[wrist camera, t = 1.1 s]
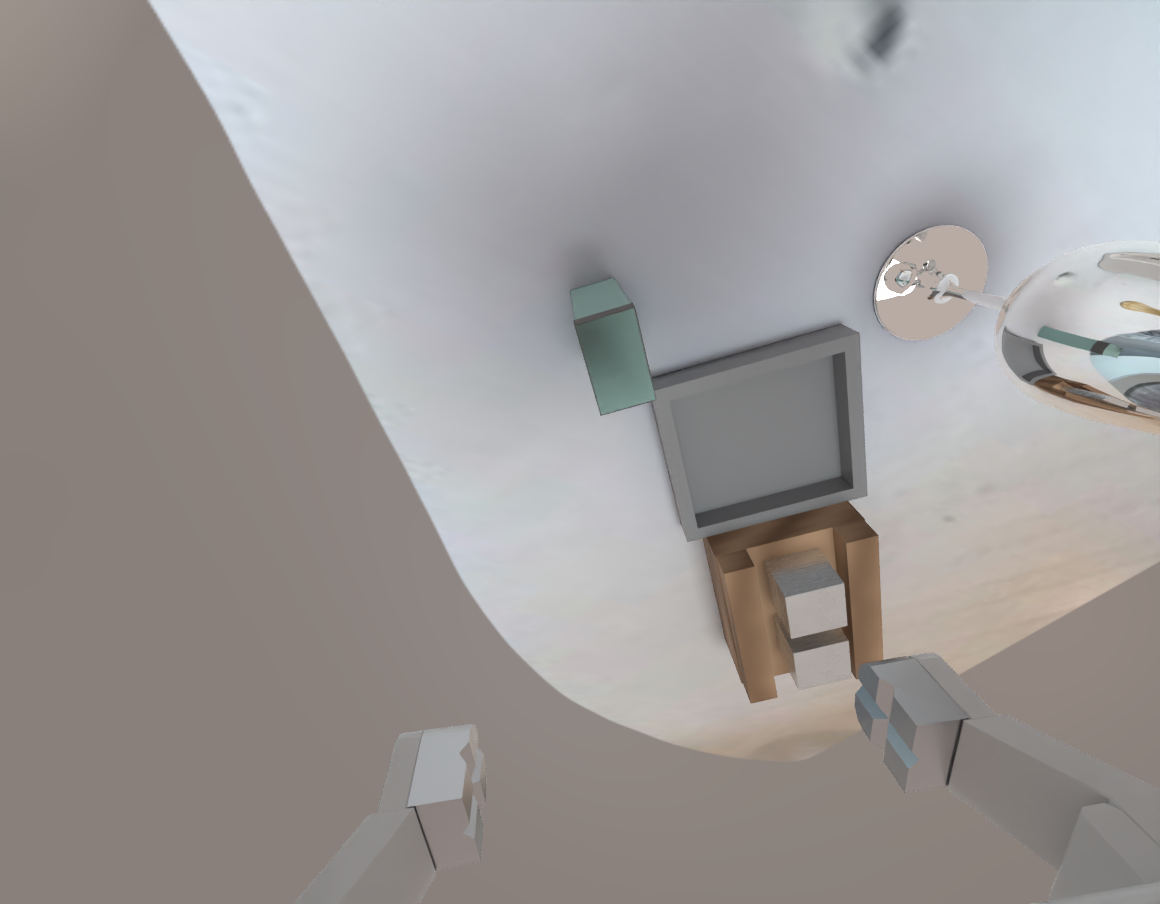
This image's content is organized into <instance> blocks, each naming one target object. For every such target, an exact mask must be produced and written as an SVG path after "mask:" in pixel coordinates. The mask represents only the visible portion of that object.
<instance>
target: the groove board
mask: <svg viewBox="0 0 1160 904" xmlns="http://www.w3.org/2000/svg"><path fill="white" fill-rule="evenodd" d="M703 541H704V546H705V550H706V555H707V559H708V564H709V568H710V573H711V577H712V582H713V586H714V591H715V595H716V600H717V604H718V609H719V613H720V618H721V622H722V627H723V631H724V636H725V640H726V643H727V645H728V648H729V650H730V653H731V656H732V658H733V661H734V664H735V666H736V669H737V672H738V674H739V677H740V679H741V682H742V683H743V684H744V687H745V689H746V692H747V695H748V697H749V700H750V702H751V703H755V702H760V701H764V700H769V699H773V698H777V691H776V686H775V680H774V676H777V675H781V674H785V673H790V672H789V669H788V667H787V665H786V663H785V661H784V659H783V657H782V655H781V653H780V651H779V648H778V642H777V635H776V629H775V623H774V617H773V614H776V613H777V611H776V609H775V607H774V605H773V603H772V602H771V598H770V592H769V586H768V580H767V573H766V567H765V561H766V560H770V559H774V558H778V557H782V556H786V555H790V554H794V553H798V552H802V551H806V550H810V549H814V548H819V549H820V551H821V552H822V554H823V555H824V556H825V558H826V559H827V560H828V562H829V563H830V564H831V566H832V567H833V569H834V570H835V571H836V573H837V574H838V575H839V577H840V578H841V579H842V581H843V582H844V587H845V600H846V612H847V625H848V626H844V627H840V628H841V630H842V631H843V633H844V634H845V636H846V637H847V639H848V640H849V650H850V663H851V672H852V673H853V675H854V677H855V678H856V679H858V678H857V677H858V670H859V667H860V666H861V665H862V663H868V662H874V661H880V660H883V641H882V616H881V591H880V566H879V541H878V535H877V534H876V533H875V531H874V530H873V529H872V528H871V527H870V526H869V525H868V524H867V523H866V522H865V519H864V518H863V517H862V516H861V515H860V514H859V512H858V511H857V510H856V509H855V508H854V507H853V506H852V505H851V504H850V503H849V502H848V501H845V502H842V503H838V504H834V505H830V506H826V507H822V508H818V509H814V510H810V511H806V512H803V513H799V514H795V515H791V516H787V517H783V518H779V519H775V520H771V521H767V522H764V523H760V524H756V525H752V526H748V527H744V528H740V529H736V530H732V531H728V532H725V533H721V534H717V535H713V536H709V537H705V538H703Z"/></svg>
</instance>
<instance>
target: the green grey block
mask: <svg viewBox="0 0 1160 904" xmlns="http://www.w3.org/2000/svg"><path fill="white" fill-rule="evenodd" d="M570 294H571V300H572V306H573V313H574V319H575V320H574V325H575V329H576V332H577V336H578V339H579V343H580V346H581V350H582V353H583V356H584V360H585V363H586V367H587V370H588V374H589V377H590V380H591V384H592V387H593V391H594V394H595V398H596V401H597V405H598V408H599V411H600V415H601V416H602V415H605V414H609V413H612V412H616V411H619V410H623V409H627V408H630V407H634V406H637V405H641V404H644V403H648V402H651V401H655V400H657V399H656V395H655V390H654V386H653V382H652V378H651V373H650V369H649V365H648V361H647V357H646V352H645V348H644V344H643V340H642V335H641V331H640V327H639V323H638V318H637V314H636V310H635V306H634V305H633V303H630V301H629V300H628V298H627V297H626V295H625V294H624V292H623V291H622V289H621V288H620V286H619V285H618V283H617V282H616V280H615V279H614V278H610V279H607V280H604V281H600V282H597V283H594V284H590V285H587V286H584V287H580V288H577V289H574V290H571V291H570Z"/></svg>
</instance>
